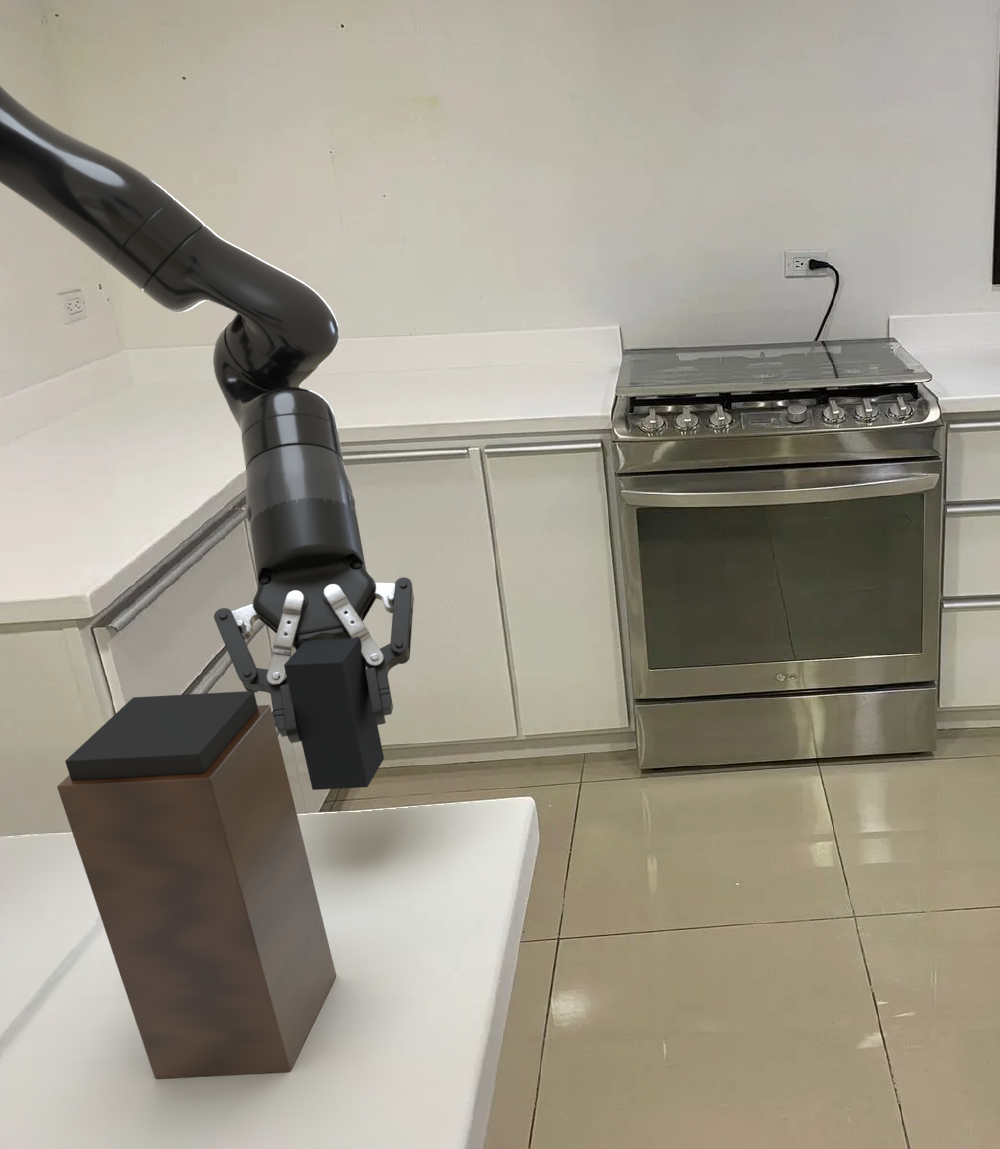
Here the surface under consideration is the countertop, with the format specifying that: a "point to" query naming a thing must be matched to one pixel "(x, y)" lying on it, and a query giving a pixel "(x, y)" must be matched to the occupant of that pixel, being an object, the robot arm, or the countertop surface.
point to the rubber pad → (163, 736)
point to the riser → (208, 907)
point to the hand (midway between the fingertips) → (337, 729)
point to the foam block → (334, 713)
